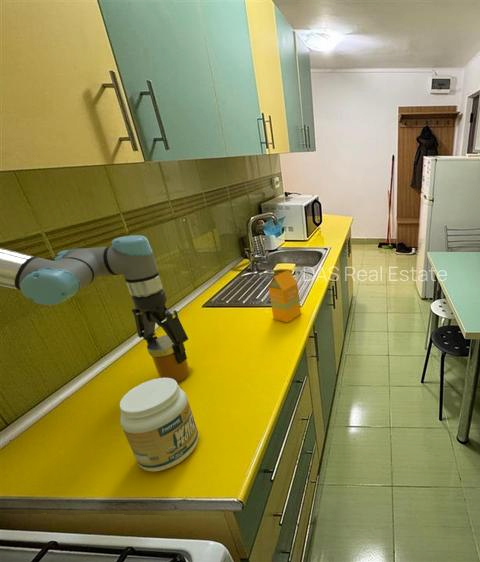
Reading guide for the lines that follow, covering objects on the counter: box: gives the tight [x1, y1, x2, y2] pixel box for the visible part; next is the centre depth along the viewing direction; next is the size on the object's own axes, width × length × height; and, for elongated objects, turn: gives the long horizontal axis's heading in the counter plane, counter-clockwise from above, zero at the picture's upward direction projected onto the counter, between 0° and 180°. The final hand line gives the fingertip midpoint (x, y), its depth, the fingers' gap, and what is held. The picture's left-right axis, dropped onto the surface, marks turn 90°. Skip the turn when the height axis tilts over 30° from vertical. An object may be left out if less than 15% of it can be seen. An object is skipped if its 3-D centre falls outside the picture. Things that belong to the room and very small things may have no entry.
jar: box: [151, 353, 191, 384], centre depth 93 cm, size 8×8×12 cm
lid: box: [146, 334, 174, 357], centre depth 91 cm, size 9×9×2 cm
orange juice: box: [268, 268, 302, 324], centre depth 126 cm, size 8×9×20 cm
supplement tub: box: [119, 377, 199, 472], centre depth 68 cm, size 12×12×17 cm
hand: (170, 358), depth 93 cm, fingers closed on lid, 9 cm apart
